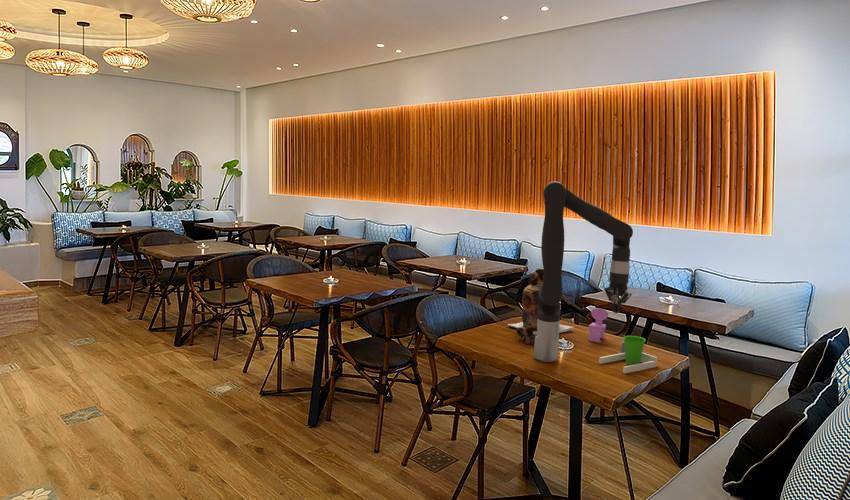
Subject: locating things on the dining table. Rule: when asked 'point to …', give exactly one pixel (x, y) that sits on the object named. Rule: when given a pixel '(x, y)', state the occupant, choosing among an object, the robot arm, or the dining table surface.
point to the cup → (633, 349)
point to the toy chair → (597, 325)
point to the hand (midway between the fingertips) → (616, 312)
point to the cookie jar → (534, 304)
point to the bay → (647, 363)
